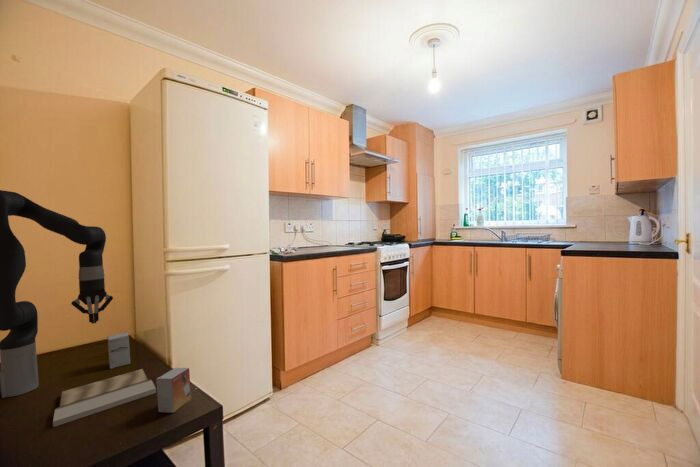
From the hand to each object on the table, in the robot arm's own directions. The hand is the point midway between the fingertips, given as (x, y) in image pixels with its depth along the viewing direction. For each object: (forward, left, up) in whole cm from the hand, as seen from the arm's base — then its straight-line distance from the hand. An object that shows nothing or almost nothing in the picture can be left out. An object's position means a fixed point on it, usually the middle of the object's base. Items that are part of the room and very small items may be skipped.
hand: (93, 322), depth 120 cm
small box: (+18, -43, -23) cm, 52 cm away
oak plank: (+2, -11, -23) cm, 25 cm away
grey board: (+2, -23, -23) cm, 33 cm away
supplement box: (+8, +16, -23) cm, 29 cm away
